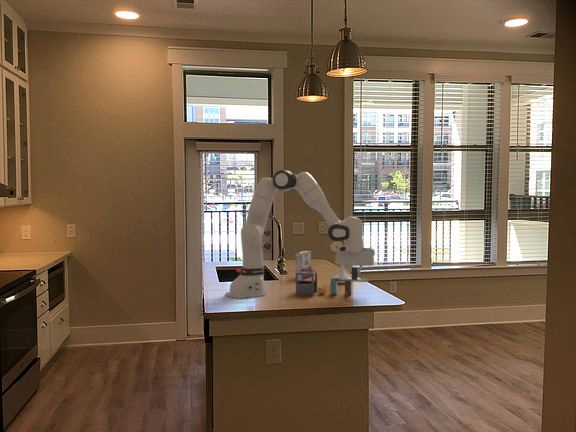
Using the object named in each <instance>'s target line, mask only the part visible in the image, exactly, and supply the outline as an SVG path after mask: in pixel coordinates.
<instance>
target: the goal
mask: <svg viewBox="0 0 576 432" xmlns="http://www.w3.org/2000/svg"><path fill="white" fill-rule="evenodd" d="M302 271H311V272H312V273H302ZM302 275H311V277H310V278H311V280H308V279H307V280H305V279H302ZM315 293H318V269H311V270H299V271H298V272H296V271H295V296H296V297H315Z"/></svg>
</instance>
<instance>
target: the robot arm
mask: <svg viewBox="0 0 576 432" xmlns="http://www.w3.org/2000/svg"><path fill="white" fill-rule="evenodd" d="M293 189H294V190H296V191H297V192H298V194H299V195H300V196H301V198H302V200H303V201H304V202H305V204H307V205H308V206H309V208H312V209H314V210H316V211H317V212H318V213H319V214H320V215H322V216H321V217H323V219H324V220H325V221H326V223H327V224H328V226H329V227H328V229H327V234H328V237H329V238H330V240H332V241H333V242H335V241H336V242H337V241H338V242H339V241H340V242H341V241H345V244H343V245H342V246H339V247H338V252H336V253H335V254H336V258H335V259H334V260H335V262H334V263H335V265H336V266H340V265H344V266H346V269H347V270H348V275H349V274H350V275H352V269H350V267H351V266H359V269H358V271H357V272H358V273H357V274H358V275H361V271H362V269H363V266H364V267H365V266H368V267H371V266H372V267H373V266H374V265H375V254H376V253H375V252H376V251H375V249H374V248H372V247H364V240H363V235H364V230H363V229H364V226H363V225H364V224H363V221H362V219H361V218H359V217H356V216H347V217H346V218H345V219H343V220H341V219H339V217H338V216H337V214H336V213H335V211H334V210H333V209H332V207H331V205H330V204H329V202H328V200H327V198H326V195H325V193H324V192H323V189H322V187H320V185H319V183H318V182H317V181H316V179H315V178H314V177H313V176H312V174H310V173H309V171H308V172H307V171H302V172H298V174H295V173H293V172H291V170H287V169H280V170H278V171H276V172H275V173H274V174H273V176H272V177H267V176H266V177H262V178H260V179H259V181H258V183H257V185H256V187H255V189H254V192H253V196H252V198H251V202H250V205H249V207H248V211H247V217H246V220H245V224H243V226H241V230H240V242H241V251H242V252H241V253H242V267H241V268H237V269H236V273H239V275H238V276H237V277H236V278H235V279H234V280H233V281H231V283H230V284H229V291H227V292H225V296H226V297H228V296H229V298H232V297H233V299H245V297H247V298H253V297H263V296H265V294H267V289H266V284H265V279H264V278H265V277H264V276H265V267H264V251H263V249H264V248H263V235H264V233H265V229H266V225H267V223H268V222H267V221H268V218H269V216H270V215H269V214H270V211H271V208H272V205H273V202H274V199H275V196H276V194H277V192H278V191H279V192H280V191H281V192H282V191H283V192H286V191H290V190H293Z"/></svg>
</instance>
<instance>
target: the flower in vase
mask: <svg viewBox="0 0 576 432" xmlns="http://www.w3.org/2000/svg"><path fill="white" fill-rule="evenodd" d="M342 245H344V244H343V242H341V241H333V242H332V243H331V244H330V245H329V248H330V250H331V251H332V252H334V254H332V255H331V258H336V254H337V252H338V247H339V246H342ZM339 268H340V270H339V273H337V275H335V276H334V277H337V278H348V279H352V276H350V275H349V274H347V272H345V265H339ZM337 284H345V281H337Z"/></svg>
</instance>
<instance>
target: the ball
mask: <svg viewBox="0 0 576 432" xmlns="http://www.w3.org/2000/svg"><path fill="white" fill-rule="evenodd" d="M326 291H327V290H326V288H325V287H324V286H319V288H317V293H318V294H320V295H324V294H325V293H326Z"/></svg>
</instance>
